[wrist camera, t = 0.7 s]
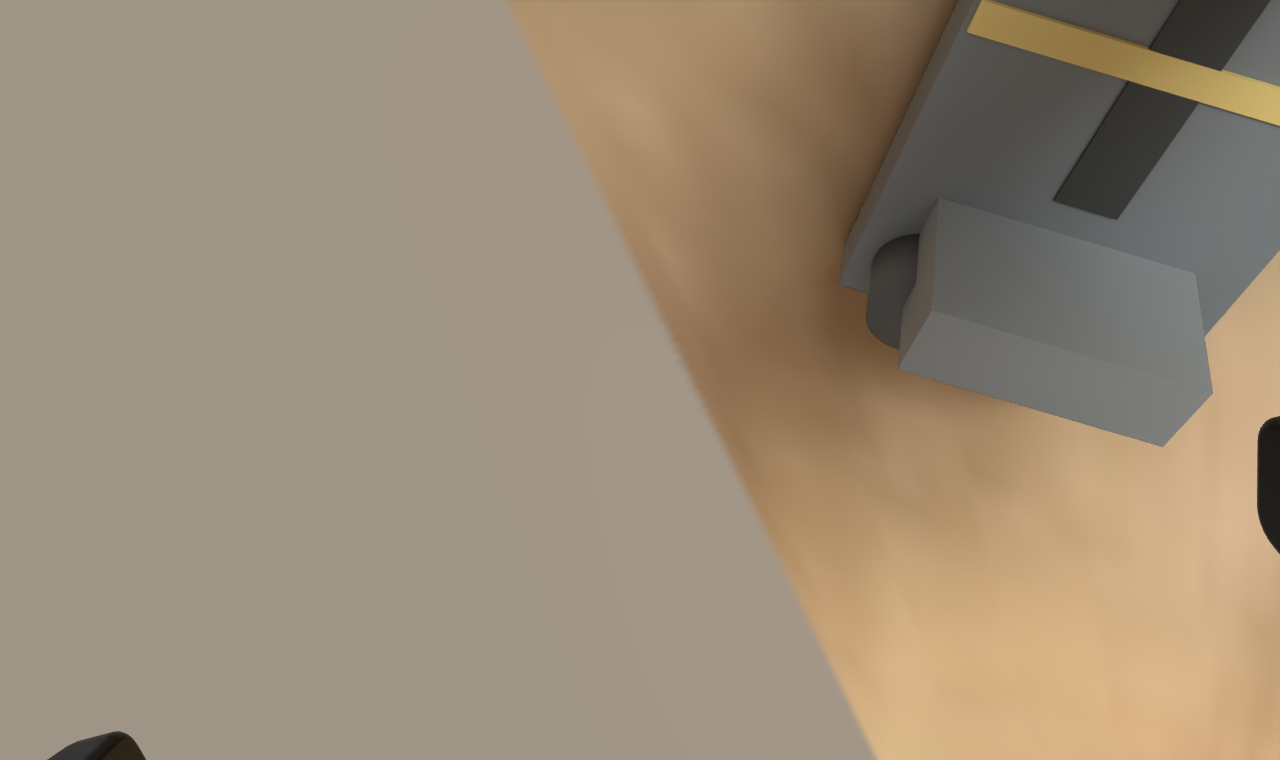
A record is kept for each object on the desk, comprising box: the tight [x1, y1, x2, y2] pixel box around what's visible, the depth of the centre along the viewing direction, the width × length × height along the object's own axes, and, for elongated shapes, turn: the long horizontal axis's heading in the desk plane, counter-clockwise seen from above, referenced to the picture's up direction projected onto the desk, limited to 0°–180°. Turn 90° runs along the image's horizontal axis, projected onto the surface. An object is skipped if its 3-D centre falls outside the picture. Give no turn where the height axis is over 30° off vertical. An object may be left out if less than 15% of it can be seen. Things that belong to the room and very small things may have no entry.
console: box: [839, 0, 1280, 447], centre depth 17 cm, size 16×7×4 cm, turn 168°
